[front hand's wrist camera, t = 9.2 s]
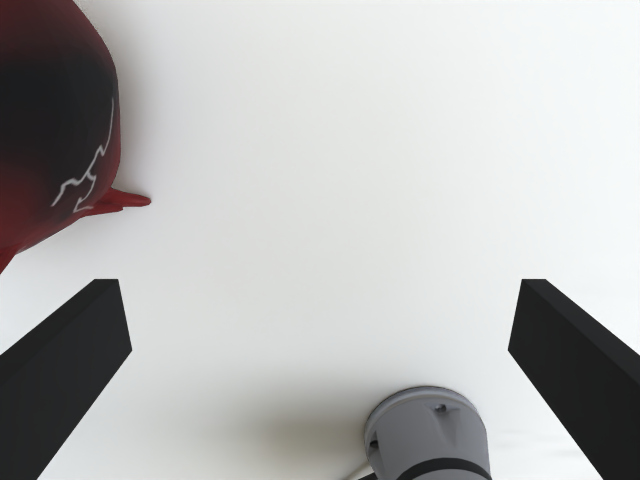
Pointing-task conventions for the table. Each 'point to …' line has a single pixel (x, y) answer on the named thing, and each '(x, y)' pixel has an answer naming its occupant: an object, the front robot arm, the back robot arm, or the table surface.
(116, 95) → the dark red rounded piece
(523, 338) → the front robot arm
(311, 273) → the table surface
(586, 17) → the table surface
